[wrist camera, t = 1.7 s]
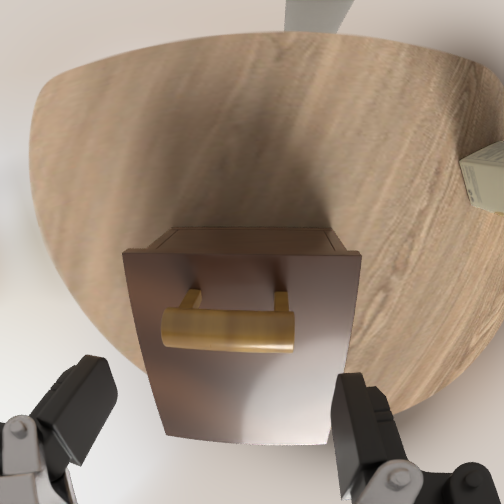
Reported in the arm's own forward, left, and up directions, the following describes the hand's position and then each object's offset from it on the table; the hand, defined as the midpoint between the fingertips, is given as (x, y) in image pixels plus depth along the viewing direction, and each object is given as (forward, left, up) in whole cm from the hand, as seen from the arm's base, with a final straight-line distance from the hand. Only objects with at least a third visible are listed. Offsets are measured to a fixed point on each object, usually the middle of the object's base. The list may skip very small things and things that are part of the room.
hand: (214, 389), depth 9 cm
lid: (+5, 0, -8) cm, 9 cm away
